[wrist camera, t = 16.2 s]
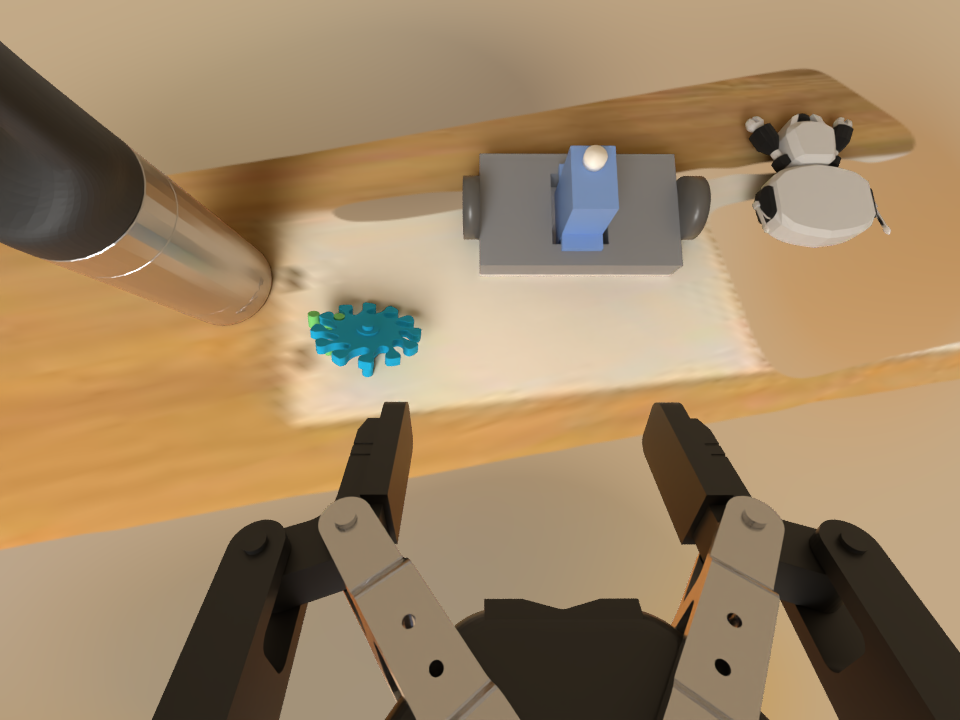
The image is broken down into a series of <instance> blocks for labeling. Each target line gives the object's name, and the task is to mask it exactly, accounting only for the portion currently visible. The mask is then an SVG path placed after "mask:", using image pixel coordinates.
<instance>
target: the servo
mask: <svg viewBox="0 0 960 720" xmlns="http://www.w3.org/2000/svg"><path fill="white" fill-rule="evenodd" d="M558 173H559V182H558V185H557V188H556V191H555V194H554V197H555V228H556V244H561V251H602V250H603V233H604V231H605V230H606V228H607V227H608V225H609V224H610V222H611V220H612V219H613V217H614V216H615V214H616V213H617V211H618V210H619V199H618V181H617V164H616V147H615V146H599V145H592V146H570V149H569V152H568V155H567V158H566V161H565V164H559V167H558Z"/></svg>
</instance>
